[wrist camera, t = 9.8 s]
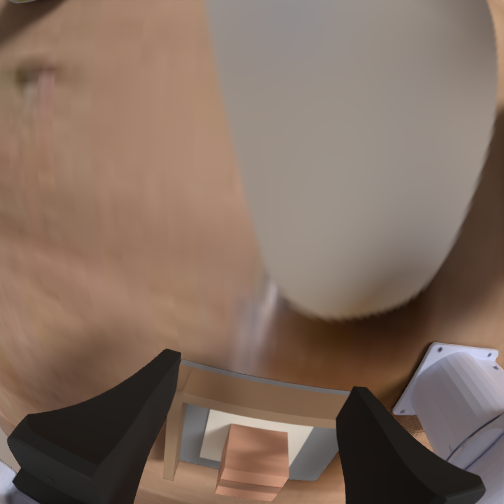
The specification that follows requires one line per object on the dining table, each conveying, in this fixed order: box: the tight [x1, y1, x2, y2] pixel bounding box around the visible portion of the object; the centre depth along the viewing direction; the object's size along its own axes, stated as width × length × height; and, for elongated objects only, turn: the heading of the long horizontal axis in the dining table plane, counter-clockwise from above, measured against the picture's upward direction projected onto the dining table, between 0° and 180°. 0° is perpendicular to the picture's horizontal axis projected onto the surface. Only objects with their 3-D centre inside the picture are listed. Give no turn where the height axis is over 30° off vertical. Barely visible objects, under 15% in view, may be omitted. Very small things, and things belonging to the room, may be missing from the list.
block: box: [215, 423, 289, 501], centre depth 21 cm, size 5×5×5 cm
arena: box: [163, 359, 351, 481], centre depth 23 cm, size 16×14×4 cm
